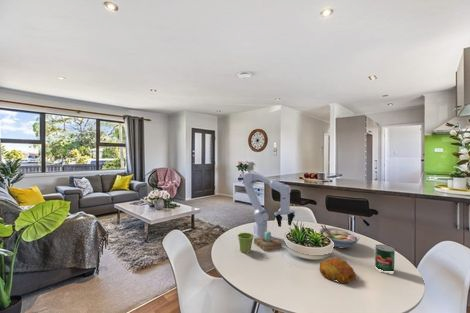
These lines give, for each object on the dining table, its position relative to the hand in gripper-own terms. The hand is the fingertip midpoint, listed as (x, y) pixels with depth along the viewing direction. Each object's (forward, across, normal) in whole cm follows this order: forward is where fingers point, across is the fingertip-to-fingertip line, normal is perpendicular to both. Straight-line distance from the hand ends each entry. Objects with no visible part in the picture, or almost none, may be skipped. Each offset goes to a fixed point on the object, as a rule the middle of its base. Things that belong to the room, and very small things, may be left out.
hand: (284, 225), depth 143 cm
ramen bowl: (+10, +28, -17) cm, 34 cm away
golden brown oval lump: (+11, -1, -42) cm, 43 cm away
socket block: (+10, -13, -1) cm, 17 cm away
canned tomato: (+10, +25, -47) cm, 54 cm away
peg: (+10, -13, -1) cm, 17 cm away
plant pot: (+10, -29, -3) cm, 31 cm away
